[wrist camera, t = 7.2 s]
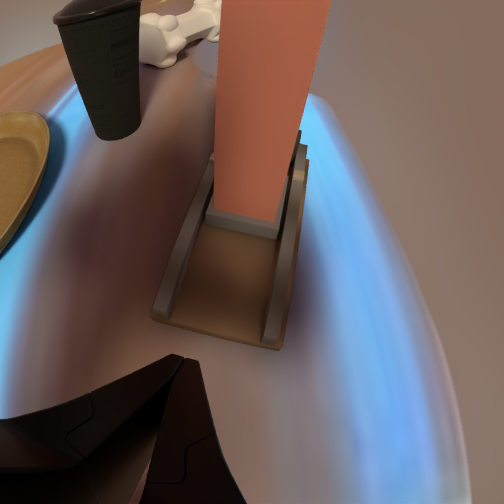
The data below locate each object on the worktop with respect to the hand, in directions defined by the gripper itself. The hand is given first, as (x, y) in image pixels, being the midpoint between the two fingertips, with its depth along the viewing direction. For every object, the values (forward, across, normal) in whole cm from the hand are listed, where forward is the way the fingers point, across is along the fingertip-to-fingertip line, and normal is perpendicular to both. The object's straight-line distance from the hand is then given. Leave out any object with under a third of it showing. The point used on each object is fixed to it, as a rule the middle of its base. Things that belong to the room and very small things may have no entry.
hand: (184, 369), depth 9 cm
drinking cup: (+21, +15, -8) cm, 27 cm away
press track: (+15, 0, -2) cm, 15 cm away
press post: (+15, 0, -4) cm, 15 cm away
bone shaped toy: (+36, +15, -23) cm, 45 cm away
